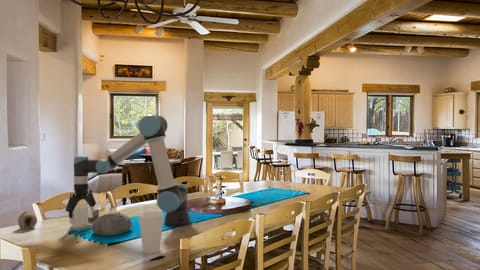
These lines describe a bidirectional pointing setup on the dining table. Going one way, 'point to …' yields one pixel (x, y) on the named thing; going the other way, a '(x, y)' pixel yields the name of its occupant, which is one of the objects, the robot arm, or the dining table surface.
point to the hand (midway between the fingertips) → (81, 220)
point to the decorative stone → (111, 224)
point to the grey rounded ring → (27, 220)
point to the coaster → (81, 227)
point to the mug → (80, 216)
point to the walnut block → (94, 215)
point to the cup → (151, 231)
